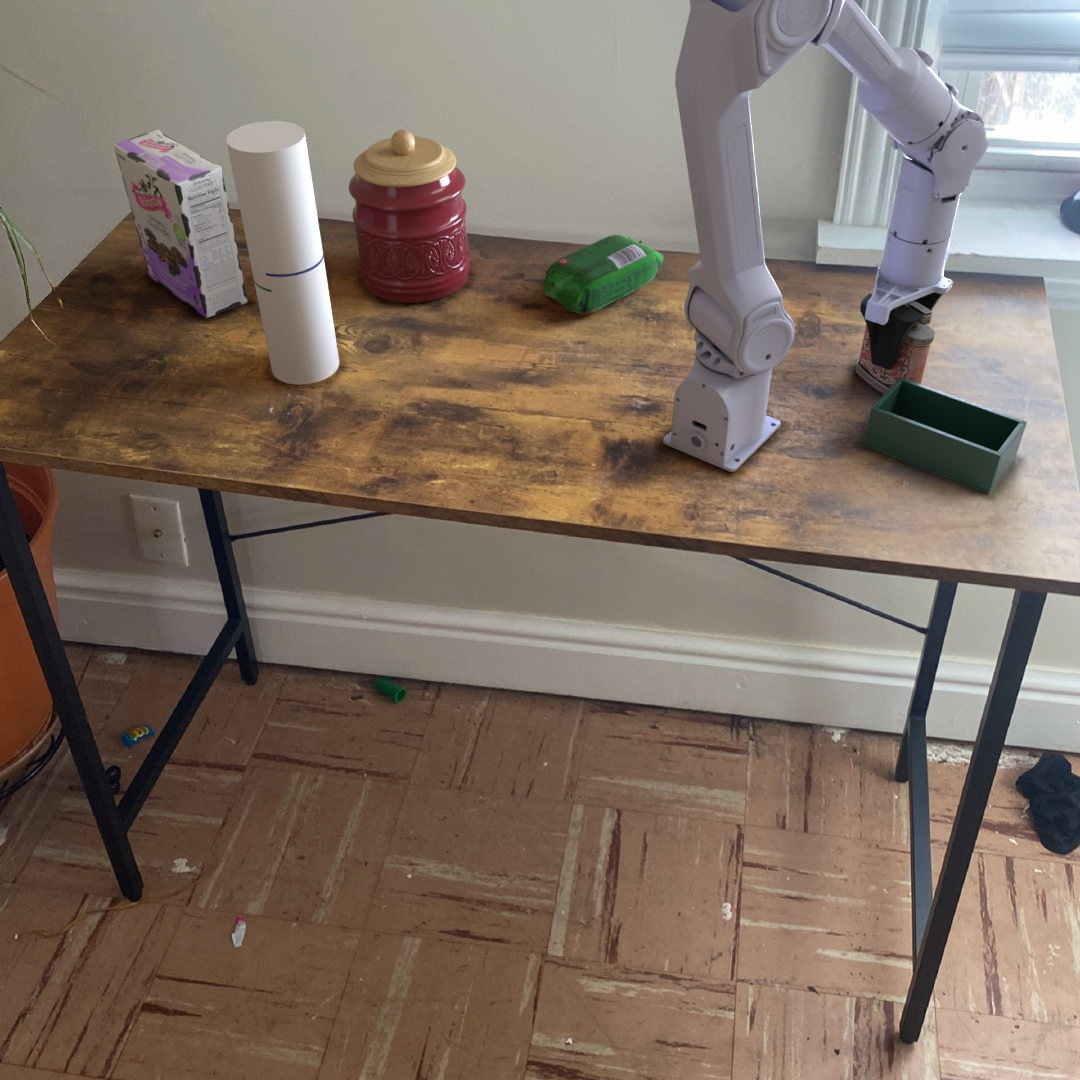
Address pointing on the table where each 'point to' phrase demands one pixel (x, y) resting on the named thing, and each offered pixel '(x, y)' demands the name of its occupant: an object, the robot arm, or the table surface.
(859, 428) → the table surface
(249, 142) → the cylindrical container
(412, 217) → the kitchen canister
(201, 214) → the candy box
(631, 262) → the snack package
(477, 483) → the table surface
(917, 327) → the lighter
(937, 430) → the green open box
